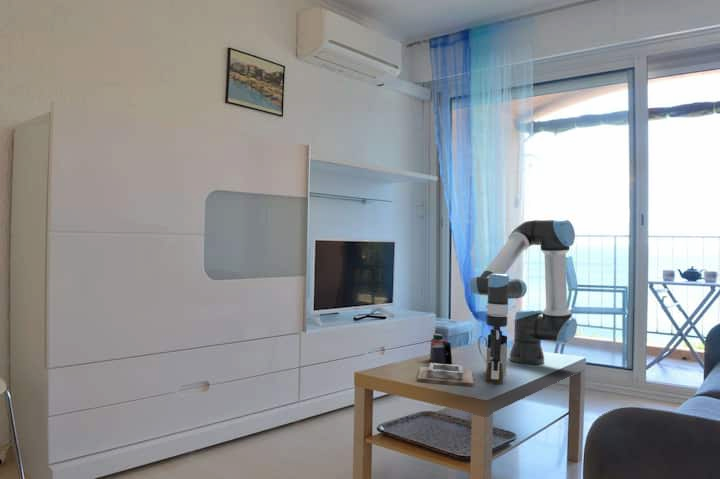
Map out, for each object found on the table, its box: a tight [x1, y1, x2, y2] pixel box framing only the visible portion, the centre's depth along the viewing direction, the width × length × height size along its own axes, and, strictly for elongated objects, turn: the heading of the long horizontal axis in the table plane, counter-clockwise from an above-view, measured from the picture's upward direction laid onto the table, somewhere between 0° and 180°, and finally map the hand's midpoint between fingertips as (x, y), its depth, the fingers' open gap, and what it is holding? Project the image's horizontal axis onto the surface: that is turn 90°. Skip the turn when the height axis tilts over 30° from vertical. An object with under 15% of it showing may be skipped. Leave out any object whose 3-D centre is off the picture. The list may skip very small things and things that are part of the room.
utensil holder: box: [486, 349, 504, 384], centre depth 201 cm, size 6×6×12 cm
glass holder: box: [477, 333, 508, 377], centre depth 218 cm, size 9×14×15 cm, turn 36°
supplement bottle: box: [429, 333, 444, 361], centre depth 236 cm, size 6×6×11 cm
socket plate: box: [417, 362, 474, 387], centre depth 204 cm, size 20×20×4 cm
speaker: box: [432, 339, 453, 365], centre depth 225 cm, size 8×6×10 cm
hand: (494, 376), depth 201 cm, fingers closed on utensil holder, 6 cm apart
